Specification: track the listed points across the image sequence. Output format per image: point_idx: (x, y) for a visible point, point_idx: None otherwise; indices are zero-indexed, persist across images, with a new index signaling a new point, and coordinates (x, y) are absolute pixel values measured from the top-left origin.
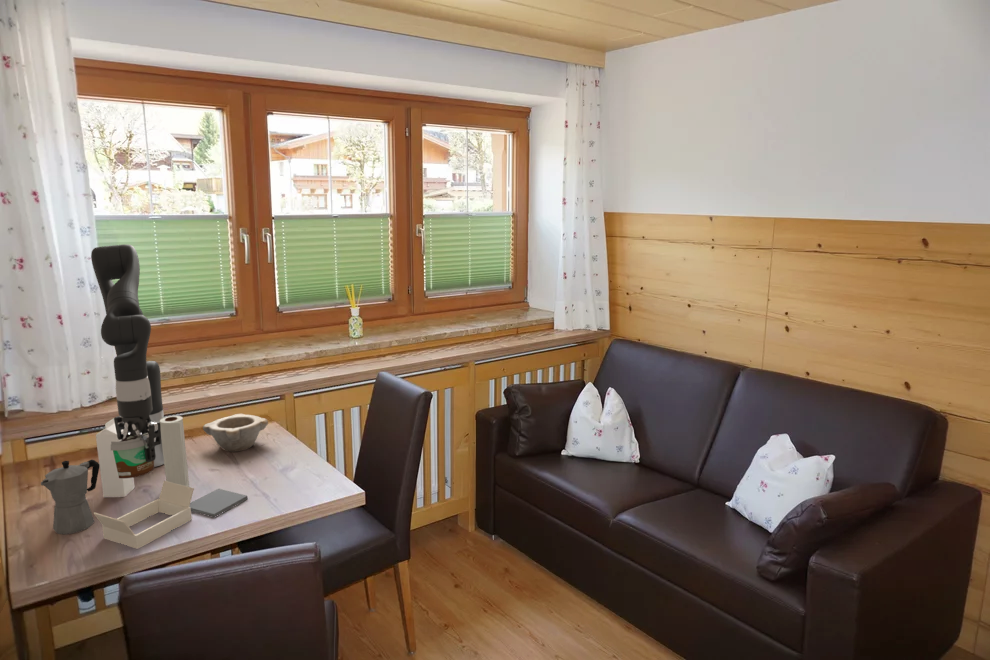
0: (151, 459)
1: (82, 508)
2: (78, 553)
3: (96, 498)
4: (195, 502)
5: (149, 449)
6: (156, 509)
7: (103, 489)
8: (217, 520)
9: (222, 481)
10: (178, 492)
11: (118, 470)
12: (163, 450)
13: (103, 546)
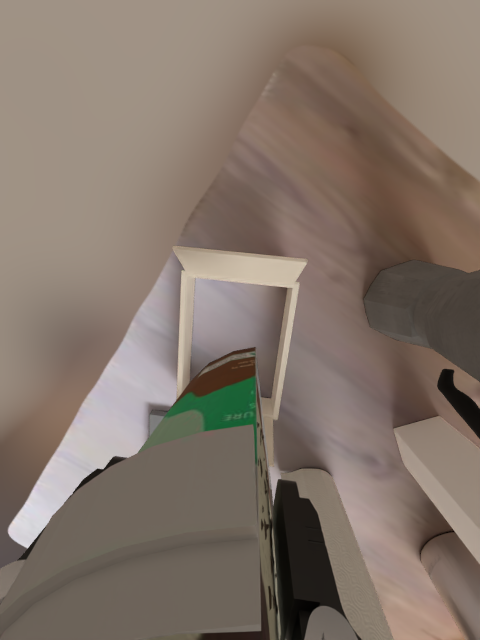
0: (94, 476)
1: (399, 310)
2: (294, 212)
3: (452, 408)
4: None
5: (24, 555)
6: (272, 398)
7: (452, 428)
8: (138, 403)
9: None
10: None
11: (247, 360)
12: (365, 591)
13: (266, 254)
